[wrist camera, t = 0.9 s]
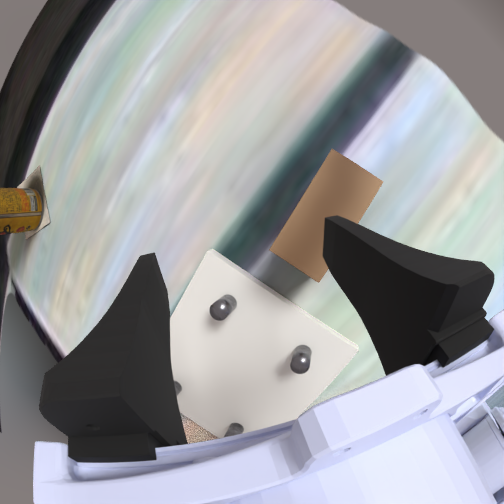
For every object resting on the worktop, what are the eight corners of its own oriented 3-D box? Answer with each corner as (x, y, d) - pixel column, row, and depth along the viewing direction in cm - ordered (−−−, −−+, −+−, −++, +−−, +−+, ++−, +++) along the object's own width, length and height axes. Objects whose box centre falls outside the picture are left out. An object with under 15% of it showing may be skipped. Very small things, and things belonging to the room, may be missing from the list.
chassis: (357, 345, 26) (360, 363, 22) (255, 451, 30) (247, 472, 26) (212, 248, 28) (196, 253, 24) (143, 375, 32) (126, 390, 28)
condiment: (26, 240, 35) (-39, 249, 24) (17, 187, 35) (-46, 188, 23) (51, 222, 33) (-24, 229, 22) (41, 165, 33) (-29, 159, 21)
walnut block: (370, 189, 24) (383, 181, 18) (320, 267, 26) (318, 282, 20) (331, 163, 24) (331, 148, 19) (282, 241, 26) (269, 250, 21)
